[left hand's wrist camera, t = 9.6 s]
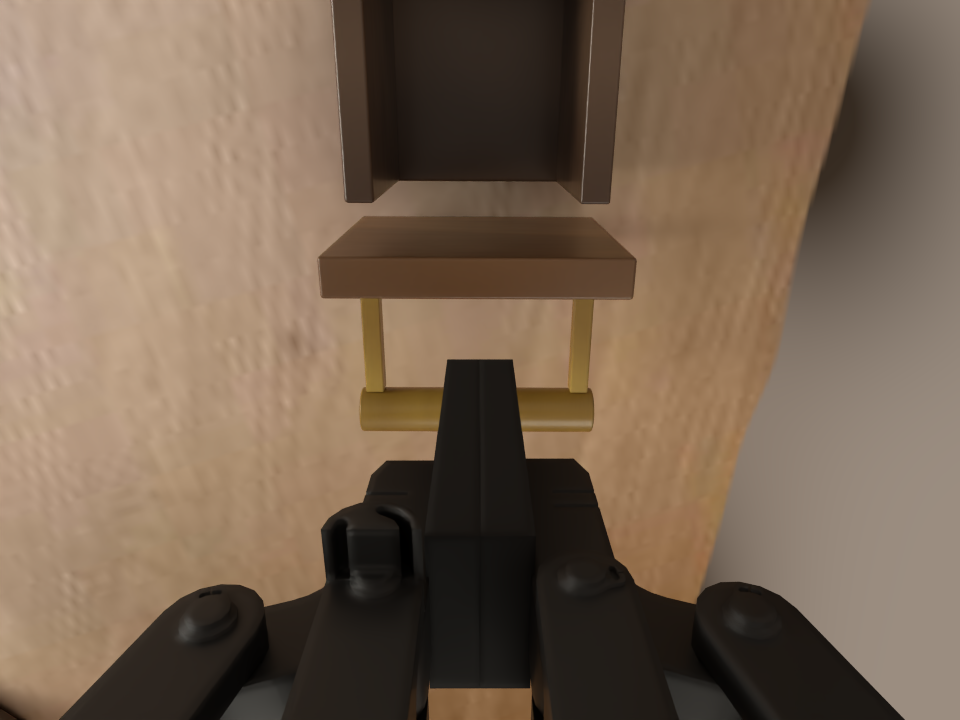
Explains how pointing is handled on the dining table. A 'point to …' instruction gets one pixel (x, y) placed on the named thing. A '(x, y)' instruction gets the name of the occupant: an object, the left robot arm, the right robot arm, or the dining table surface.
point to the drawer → (477, 173)
